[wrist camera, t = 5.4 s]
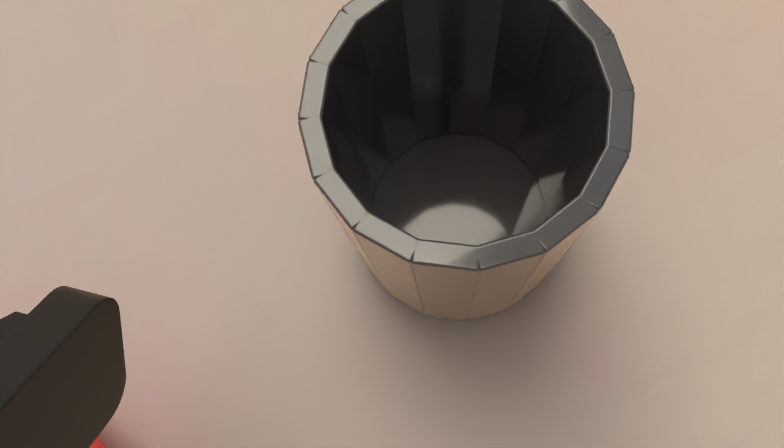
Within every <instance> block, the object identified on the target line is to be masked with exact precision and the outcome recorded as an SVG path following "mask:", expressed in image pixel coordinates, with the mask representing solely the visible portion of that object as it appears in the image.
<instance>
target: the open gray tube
mask: <svg viewBox="0 0 784 448" xmlns="http://www.w3.org/2000/svg"><path fill="white" fill-rule="evenodd" d="M634 97H635V93H634V87H633V84H632V82H631V79H630V76H629V73H628V71H627V68H626V65H625V63H624V60H623V57H622V55H621V52H620V49H619V47H618V44H617V41H616V39H615V36H614V34H613V33H612V31H611V29H610V28H609V27H608V26H607V25H606V24H605V23H604V22H603V21H602V20H601V19H600V18H599V17H598V16H597V15H596V14H595V12H594V11H593V10H592V9H591V8H590V7H589V6H588V5H587V4H586V3H585V2H584V1H583V0H351V1H350V2H349V3H347V4H346V5H345V6H343V7H342V9H341V10H339V12H338V13H337V15H336V16H335V18H334V19H333V21H332V23H331V24H330V26H329V27H328V29H327V30H326V32H325V34H324V35H323V37H322V38H321V40H320V42H319V43H318V45H317V46H316V48H315V49H314V51H313V53H312V54H311V56H310V57H309V61H308V62H307V66H306V72H305V78H304V84H303V90H302V96H301V102H300V108H299V113H298V120H299V121H298V125H299V129H300V133H301V137H302V141H303V145H304V149H305V153H306V157H307V161H308V165H309V169H310V173H311V177H312V179H313V180H314V183H315V185H316V186H317V188H318V189H319V191H320V193H321V194H322V196H323V197H324V199H325V201H326V202H327V204H328V205H329V207H330V208H331V210H332V212H333V213H334V215H335V216H336V218H337V220H338V221H339V223H340V224H341V226H342V227H343V229H344V231H345V232H346V234H347V235H348V237H349V239H350V240H351V242H352V243H353V245H354V246H355V248H356V250H357V251H358V253H359V254H360V256H361V258H362V259H363V261H364V262H365V264H366V265H367V266H368V268H369V269H370V270H371V272H372V273H373V274H374V276H375V277H376V278H377V280H378V281H379V282H380V283H381V285H382V286H383V287H384V289H385V290H386V291H387V292H388V293H389V294H390V295H391V296H393V297H395V298H396V299H397V300H399V301H400V302H402V303H403V304H405V305H406V306H408V307H410V308H412V309H414V310H416V311H418V312H420V313H423V314H426V315H429V316H432V317H437V318H443V319H452V320H466V319H468V320H469V319H475V318H480V317H485V316H488V315H491V314H494V313H497V312H499V311H501V310H505V309H506V308H509V307H510V306H511V305H513V304H514V303H515V302H517V301H518V300H520V299H521V298H523V297H524V296H525V295H526V294H527V293H528V292H529V291H530V290H532V289H533V288H534V287H536V286H537V285H538V284H539V283H540V282H541V280H542V279H543V278H544V277H545V276H546V274H547V273H548V272H549V271H550V270H551V268H552V267H553V266H554V265H555V264H556V263H557V261H558V260H559V259H560V258H561V257H562V255H563V254H564V253H565V252H566V251H567V249H568V248H569V247H570V246H571V245H572V243H573V242H574V241H575V240H576V239H577V237H578V236H579V235H580V234H581V233H582V231H583V230H584V229H585V228H586V227H587V225H588V224H589V223H590V222H591V221H592V219H593V218H594V217H595V216H596V215H597V213H598V212H599V211H600V210H601V208H602V207H603V205H604V203H605V201H606V199H607V197H608V195H609V194H610V192H611V190H612V188H613V186H614V184H615V182H616V181H617V179H618V177H619V175H620V173H621V171H622V169H623V167H624V166H625V164H626V162H627V160H628V158H629V153H630V152H631V142H632V127H633V112H634Z"/></svg>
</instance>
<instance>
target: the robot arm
mask: <svg viewBox="0 0 784 448" xmlns="http://www.w3.org/2000/svg"><path fill="white" fill-rule="evenodd" d="M125 382H126V369H125V359H124V350H123V340H122V330H121V320H120V311H119V306H118V303H117V302H116V300H115V299H113V298H109V297H106V296H102V295H98V294H94V293H90V292H86V291H83V290H79V289H75V288H71V287H67V286H61V287H58V288H56V289H54V290H53V291H52V292H51V293H49V294H48V295H47V296H46V297H45V298H44V299H43V300H42V301H41V302H40V303H39V304H38V305H37V306H36V307H35V308H34V309H33V310H32V311H31V312H30V313H29V314H28V315H27V314H23V313H20V312H14V313H12V314H10V315H8V316H6V317H4V318H2V319H0V448H89V447H90V446H91V445H92V443H93V442H94V441H95V439H96V438H97V437H98V435H99V434H100V432H101V431H102V430H103V428H104V427H105V426H106V424H107V423H108V422H109V420H110V419H111V418H112V416H113V415H114V413H115V411H116V409H117V407H118V405H119V403H120V400H121V398H122V395H123V392H124V387H125Z"/></svg>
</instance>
